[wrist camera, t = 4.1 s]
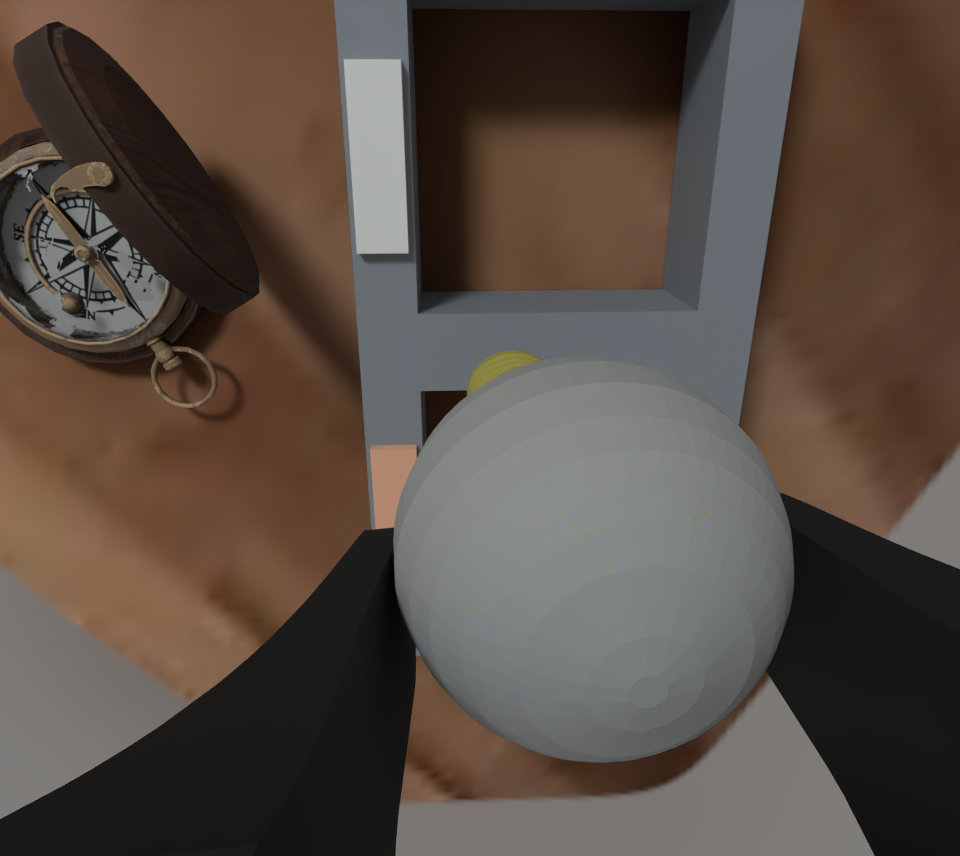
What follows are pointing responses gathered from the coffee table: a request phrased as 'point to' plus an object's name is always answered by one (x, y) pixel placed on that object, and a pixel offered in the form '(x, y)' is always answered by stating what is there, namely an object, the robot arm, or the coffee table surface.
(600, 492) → the light bulb
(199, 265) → the compass
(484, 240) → the coffee table surface
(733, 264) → the socket block
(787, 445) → the coffee table surface
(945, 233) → the coffee table surface
